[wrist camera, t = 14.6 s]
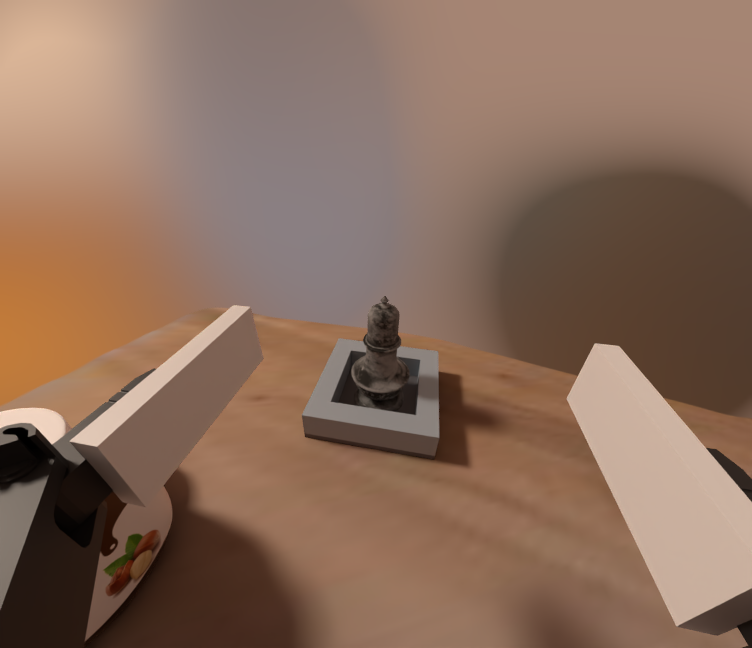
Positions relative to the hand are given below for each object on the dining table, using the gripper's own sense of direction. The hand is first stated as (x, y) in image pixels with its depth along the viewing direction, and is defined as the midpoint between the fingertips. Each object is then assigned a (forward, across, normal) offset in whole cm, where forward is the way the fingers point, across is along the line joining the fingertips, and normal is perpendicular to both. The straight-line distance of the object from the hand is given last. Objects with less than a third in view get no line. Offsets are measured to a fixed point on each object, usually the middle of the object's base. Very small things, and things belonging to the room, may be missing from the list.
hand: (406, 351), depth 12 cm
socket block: (+13, -3, -17) cm, 21 cm away
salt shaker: (+13, -3, -16) cm, 21 cm away
